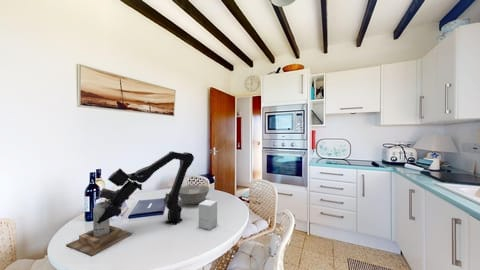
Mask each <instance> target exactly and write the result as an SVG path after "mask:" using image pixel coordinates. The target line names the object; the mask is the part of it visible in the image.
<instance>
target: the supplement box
mask: <svg viewBox="0 0 480 270" xmlns="http://www.w3.org/2000/svg"><path fill="white" fill-rule="evenodd" d="M217 225H218V201H216V200H210V199H204V200H203V201H202V202H201V203H198V228H200V229H205V230H209V231H211V230H212V229H213V228H215V226H217Z"/></svg>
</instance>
